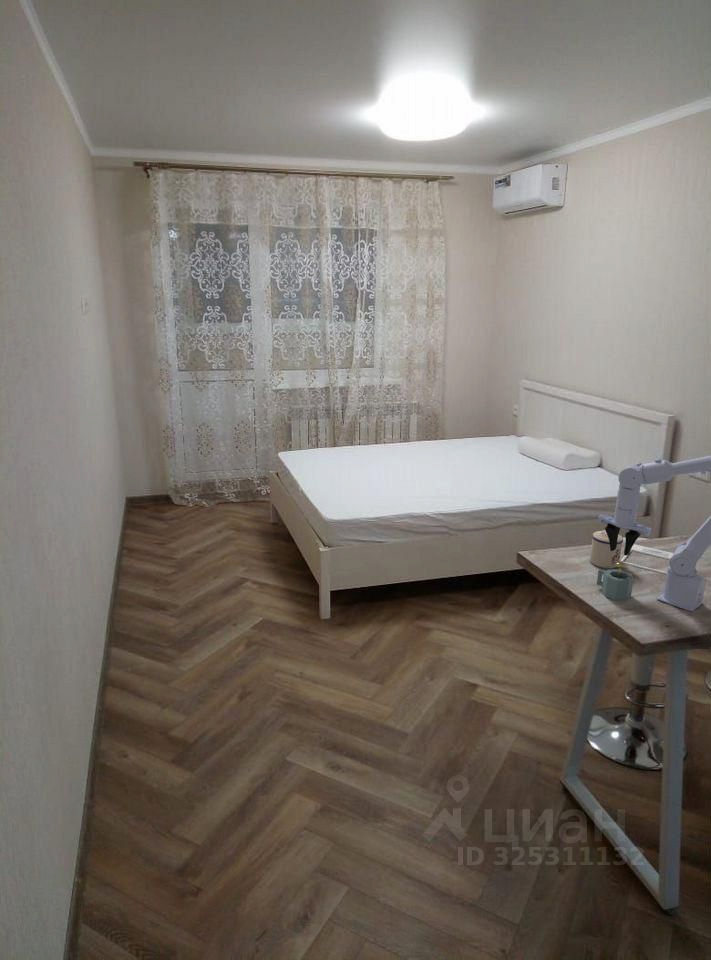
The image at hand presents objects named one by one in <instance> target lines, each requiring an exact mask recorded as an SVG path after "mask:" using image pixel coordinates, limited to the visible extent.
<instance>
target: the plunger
mask: <svg viewBox="0 0 711 960" xmlns="http://www.w3.org/2000/svg"><path fill="white" fill-rule="evenodd" d="M624 562H625V561H623V562H621V560H619V561H617V562H616V564H615V566H616V569H617V568H618V569H617V570H618V575H617V576H613V577H615V578H618V579H624V578H622V577H620V574H621V570H622V569H625V568H626V563H624Z"/></svg>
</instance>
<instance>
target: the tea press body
mask: <svg viewBox="0 0 711 960" xmlns="http://www.w3.org/2000/svg"><path fill="white" fill-rule="evenodd" d="M597 572H598V573H597V579H596V585H598V586H601V589H600V590H601V591H600V592H601V593H602V594H603V596H604V597H606V598H608V599H609V600H610V599H611V600H613V601H628V600H630V599H631V598H632V591H633V585H634V579H635V577H634V576H633V574H631V573H630V572H627V571H624V570H622V569H621V574H620V577H622V578H624V579H618V578H615V577H613V576H617V575H618V569H613V568H608V569H607V570H604V569H601V568H600V569H598V571H597Z"/></svg>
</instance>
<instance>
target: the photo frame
mask: <svg viewBox="0 0 711 960" xmlns="http://www.w3.org/2000/svg"><path fill="white" fill-rule="evenodd" d="M632 552H636V553H639V554H644V555H648V556H652V557H655V558H659V559H660V558H661V559H665V560H669V561H670V559H671V557H672V556H673V554H674V552H670V551H667V550H666V551H664V550H661V549H657V548H651V547H649V546H648V547H647V546H645V545H639V544H635V543H634V544H633V546H632V548H631V551H630V554H631V553H632ZM630 554H628V555H627V556H626V555H624V556H623V557H622V558H620V561H621V562H624V563H626V565H627V566H631V567H635V568H639V569H642V570H647V571H651V572H654V573H659V574H662V575H666V576H667V571H664V570H659V569H656V568H655V569H654V568H652V567H646V566H643V565H639V564H636V563H631V562H626V561H625V560H626V559H627V557H628V556H629V555H630Z"/></svg>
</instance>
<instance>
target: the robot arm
mask: <svg viewBox="0 0 711 960" xmlns="http://www.w3.org/2000/svg"><path fill="white" fill-rule="evenodd" d="M703 472H708V473H710V474H711V455H705V456H701V457H696V458H691V459H687V460H682V461H676V462H671V461H669V460H667V459H661V458H656V459H655V460H654V461H652V462H647V463H646V462H645V463H642V462H637V463H636V464H628V465H626V466H625V467H624V468H623V469H622V470H621V471H620V473H619V475H618V483H619V485H618V490H617V494H616V500H615V501H616V503H615V508H614V509H615V510H614V516H611V515H610V516H609V515H604V514H599V515H598V518H597V523H600V524H602V523H603V524H606V526H605V528H604V530H605V531H606V533H607V535H608V538H609V543H610V551H614V550H616V546H617V539H618V535H620V532H621V531H620V530H621V529H624V530H626V531H627V532H625V535H624V536H625V537H624V538H625V542H624V543H625V545H624V550H623V555H624V556H625V555H626V556H627V555H628V554H629V555H630V554H631V553H630V551H631V548H632V546H633V545H634V544H635V543H636V541H637V540H638V539H639V537H640V536H641V535H643V536H645V537H649V536H651V534H652V527H648V526H645V525H643V524H641V523H638V522H636V521H637V515H638V511H639V510H638V509H639V503H640V502H639V501H640V496H641V492H640V491H641V487H642V486H641V485H651V484H658V483H664V482H670V481H671V480H672V479H673V478H674V476H678V475H686V474H694V473H695V474H696V473H703ZM710 546H711V515H710V516H708V518H707V519H706V520H705V521H704V522H703V523H702V525H701V526H700V527H699V528H698V529H697V530H696V531H695V532H694V533H693V535H691V536H690V537H689V538H687V539H686V541H685V542H682V543H681V544H678V545H677V546H675V548H674V550H673V553H674V554H673V556H672V557H671V559H670V560H669V563H668V564H669V565H668V566H667V571H666V572H667V575H666V577H665V582H664V589H663V593H662V594H660V595H658V596H657V598H656V600H658V601H661V602H664V603H667V604H669V605H672V606H675V607H678V608H681V609H684V610H686V611H688V612H694V611H695V610H696V609H697V608H698V607H700V606H701V605H702V604H703V603H704V602H703V600H704V593H705V588H706V585H707V584H706V583H707V581H706V580H707V579H706V578H705V577H703V576H701V575H700V574H698V570H697V569H696V566H697V563H698V562H699V561H700V559H702V556H703V555H704V553H705V552H706V551H707V550H708V549H709V547H710ZM631 552H632V551H631ZM629 555H628V556H629ZM628 556H627V557H628Z"/></svg>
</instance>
